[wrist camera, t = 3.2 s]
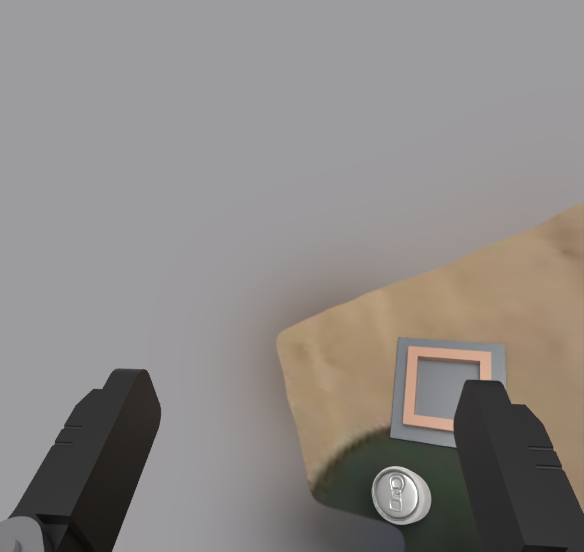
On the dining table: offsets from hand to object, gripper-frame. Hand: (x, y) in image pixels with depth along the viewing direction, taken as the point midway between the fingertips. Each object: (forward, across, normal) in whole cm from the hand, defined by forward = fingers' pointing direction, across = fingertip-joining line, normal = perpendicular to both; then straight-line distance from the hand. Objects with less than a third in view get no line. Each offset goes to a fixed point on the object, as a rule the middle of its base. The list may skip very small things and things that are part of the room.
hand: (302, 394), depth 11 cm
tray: (+37, +19, -45) cm, 61 cm away
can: (+24, +12, -53) cm, 60 cm away
